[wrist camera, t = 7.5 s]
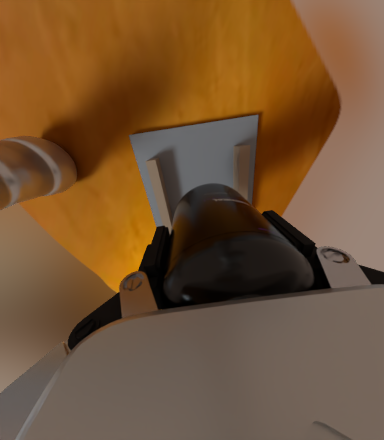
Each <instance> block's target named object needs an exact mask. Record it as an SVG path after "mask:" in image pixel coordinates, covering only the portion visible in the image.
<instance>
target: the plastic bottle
mask: <svg viewBox="0 0 384 440" xmlns="http://www.w3.org/2000/svg"><path fill="white" fill-rule="evenodd" d="M76 179H77V169H76V166H75V163H74V161H73V160H72V158H71V157H70V156H69V154H68V153H67V152H66V151H64V150H63V149H62V148H61V147H59V146H58V145H56V144H55V143H53V142H51V141H48V140H45V139H41V138H36V137H31V136H20V137H12V138H7V139H3V140H0V210H2V209H4V208H7V207H9V206H12V205H14V204H16V203H20V202H23V201H27V200H30V199H34V198H37V197H41V196H47V195H53V194H57V193H61V192H64V191H66V190H67V189H69V188H70V187H71V186H72V185H73V184H74V183H75V182H76Z"/></svg>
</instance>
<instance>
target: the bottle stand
mask: <svg viewBox="0 0 384 440" xmlns="http://www.w3.org/2000/svg"><path fill="white" fill-rule="evenodd" d="M257 128H258V115H253V116H247V117H240V118H234V119H228V120H221V121H215V122H209V123H202V124H196V125H190V126H184V127H177V128H171V129H165V130H158V131H152V132H146V133H139V134H133V135H129V137H130V141H131V144H132V147H133V151H134V154H135V157H136V160H137V164H138V167H139V170H140V174H141V177H142V180H143V184H144V187H145V190H146V193H147V197H148V200H149V203H150V207H151V210H152V213H153V217H154V220H155V223H156V226H157V227H158V226H165V227H168V229H169V233H171V228H172V223H173V218H174V214H175V210H176V207H177V205H178V203H179V201H180V200H181V198H182V197H183V196H184V195H185V194H186V193H187V192H189V191H190V190H191V189H193V188H195V187H197V186H200V185H203V184H209V183H218V184H223V185H227V186H229V187H231V188H233V189H234V190H236V191H237V192H238V193H240V194H241V195H242V196H243V197H244V198H245V199H246V200H247V201H248V202H249V203H250V204H251V205H252V195H253V181H254V168H255V154H256V141H257Z"/></svg>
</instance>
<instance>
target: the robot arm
mask: <svg viewBox="0 0 384 440" xmlns="http://www.w3.org/2000/svg"><path fill="white" fill-rule="evenodd" d="M262 215H263V216H264V217H265V218H266V219H267V220H268V221H269V222H270V223H271V224H272V225H273V226H274V227H275V228H276V229H277V230H279V231H280V232H281V233H282V234H283V235H284V236H285V237H286V238H287V239H288V240H289V241H290V242H291V243H292V244H293V245H294V246H295V247H296V248H297V249H298V250H299V251H300V252H301V253H302V254H303V255H304V257H305V258H306V259H307V260H308V261H309V263H310V265H311V266H312V268H313V270H314V273H315V275H316V279H317V283H318V290H312V291H304V292H296V293H287V294H279V295H271V296H263V297H255V298H247V299H239V300H231V301H223V302H215V303H208V304H200V305H192V306H185V307H177V308H170V309H164V310H161V306H160V287H161V280H162V275H163V270H164V265H165V259H166V254H167V249H168V244H169V239H170V233H169V229H168V227H165V226H158V227H157V228H156V231H155V234H154V237H153V240H152V243H151V244H150V245H148V246H147V248H146V251H145V253H144V256H143V259H142V262H141V264H140V267H139V270H138V271H135V272H133V273H130V274H129V275H127V276H126V277H125V278H124V279H123V280H122V281H121V283H120V287H119V291H120V292H119V293H117V294H116V295H115V296H113V297H112V298H111V299H109V300H108V301H107V302H105V303H104V304H103V305H101V306H100V307H99V308H97V309H96V310H95V311H93V312H92V313H91V314H89V315H88V316H87V317H86V318H84V319H83V320H82V321H81V322H79V323H78V324H77V325H76V327H75V328H74V329H73V331H72V332H71V334H70V336H69V339H68V340H67V341H66V342H65V343H64V342H63V341H62V342H61V343H60V344H59V345H57V346H56V347H55V348H54V349H52V350H51V351H50V352H49V353H48V354H46V355H45V356H44V357H43V358H42V359H40V360H39V361H38V362H37V363H36V364H34V365H33V366H32V367H31V368H30V369H28V370H27V371H26V372H25V373H24V374H22V375H21V376H20V377H19V378H18V379H16V380H15V381H14V382H13V383H12V384H10V385H9V386H8V387H7V388H6V389H4V390H3V391H2V392H1V393H0V440H384V272H381V271H378V270H375V269H371V268H368V267H364V266H361V265H358V264H357V263H356V261H355V260H354V258H353V257H352V256H351V255H350V254H348V253H347V252H344V251H343V250H341V249H337V248H334V247H326V246H324V247H319V248H317V247H315V243H314V242H313V241H312V240H310V239H309V238H308V237H306V236H305V235H304V234H302V233H301V232H300V231H298V230H297V229H296V228H295V227H293V226H292V225H291V224H290V223H288V222H287V221H286V220H284V219H283V218H282V217H280V216H279V215H278V214H277V213H275V212H274V211H272V210H271V211H264V212H263V214H262Z"/></svg>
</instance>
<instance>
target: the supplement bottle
mask: <svg viewBox="0 0 384 440" xmlns="http://www.w3.org/2000/svg"><path fill="white" fill-rule="evenodd" d="M312 290H318V283H317V279H316V275H315V273H314V270H313V268H312V266H311V265H310V263H309V261H308V260H307V259H306V258H305V257H304V255H303V254H302V253H301V252H300V251H299V250H298V249H297V248H296V247H295V246H294V245H293V244H292V243H291V242H290V241H289V240H288V239H287V238H286V237H285V236H284V235H283V234H282V233H281V232H280V231H279V230H277V229H276V228H275V227H274V226H273V225H272V224H271V223H270V222H269V221H268V220H267V219H266V218H265V217H264V216H263V215H262V214H261V213H260V212H259V211H258V210H257V209H255V208H254V207H253V206H252V205H251V204H250V203H249V202H248V201H247V200H246V199H245V198H244V197H243V196H242V195H241V194H240V193H238V192H237V191H236V190H234V189H233V188H231V187H229V186H227V185H223V184H218V183H209V184H203V185H200V186H197V187H195V188H193V189H191V190H190V191H189V192H187V193H186V194H185V195H184V196H183V197H182V198H181V200H180V201H179V203H178V205H177V207H176V210H175V214H174V218H173V223H172V228H171V233H170V239H169V244H168V249H167V254H166V259H165V265H164V270H163V275H162V280H161V287H160V306H161V310H164V309H170V308H177V307H185V306H192V305H200V304H208V303H215V302H223V301H231V300H239V299H247V298H255V297H263V296H271V295H279V294H287V293H296V292H304V291H312Z"/></svg>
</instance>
